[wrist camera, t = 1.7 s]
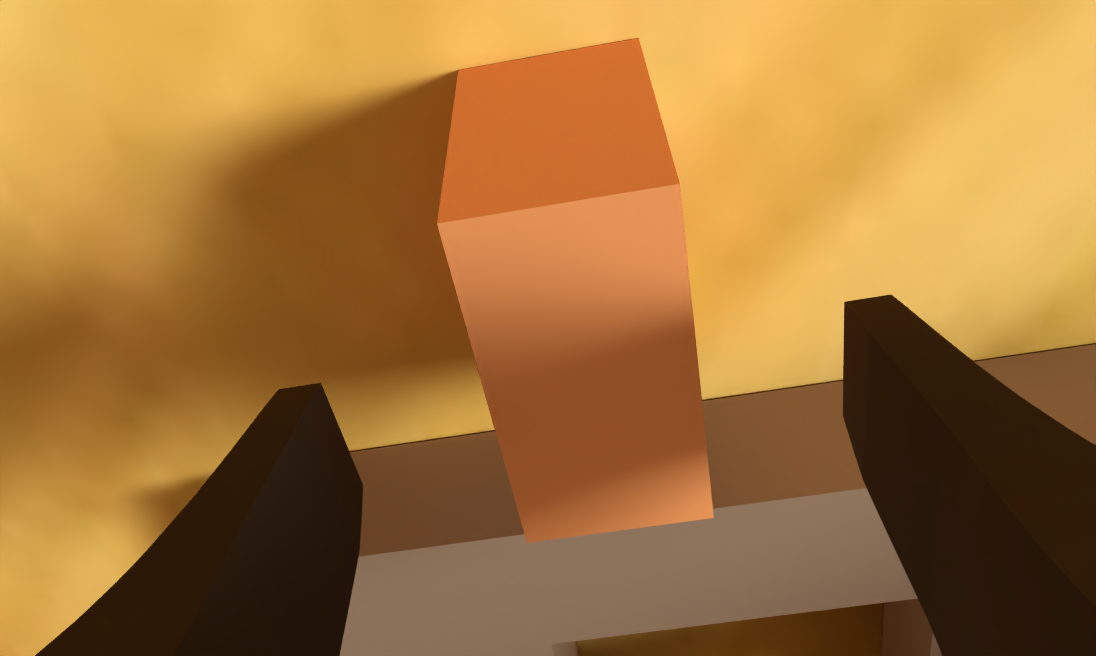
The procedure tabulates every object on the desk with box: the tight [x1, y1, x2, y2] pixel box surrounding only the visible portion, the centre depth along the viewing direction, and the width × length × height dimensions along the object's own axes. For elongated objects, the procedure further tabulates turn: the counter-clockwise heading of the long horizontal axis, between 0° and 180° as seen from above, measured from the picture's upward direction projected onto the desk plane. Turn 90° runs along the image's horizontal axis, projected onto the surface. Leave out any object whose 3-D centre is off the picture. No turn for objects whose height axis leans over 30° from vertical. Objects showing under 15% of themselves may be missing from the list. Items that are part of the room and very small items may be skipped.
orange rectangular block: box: [437, 38, 714, 543], centre depth 15 cm, size 3×6×5 cm, turn 10°
